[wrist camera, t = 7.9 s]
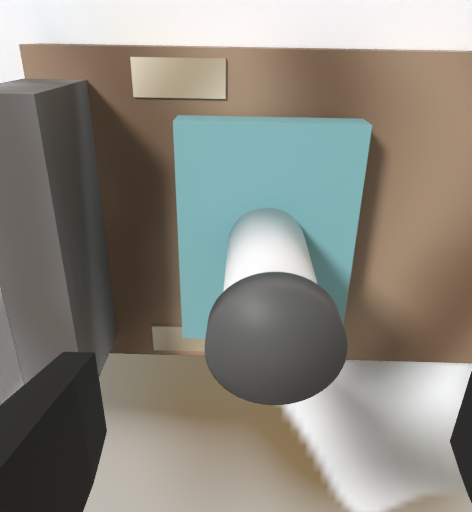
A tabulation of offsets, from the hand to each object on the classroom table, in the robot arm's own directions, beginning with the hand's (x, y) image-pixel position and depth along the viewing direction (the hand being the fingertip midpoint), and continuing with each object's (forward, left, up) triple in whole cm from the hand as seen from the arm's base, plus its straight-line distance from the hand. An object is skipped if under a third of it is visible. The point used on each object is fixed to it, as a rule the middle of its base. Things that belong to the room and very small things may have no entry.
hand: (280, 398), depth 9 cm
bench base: (+1, 0, -10) cm, 10 cm away
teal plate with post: (0, 0, -8) cm, 8 cm away
